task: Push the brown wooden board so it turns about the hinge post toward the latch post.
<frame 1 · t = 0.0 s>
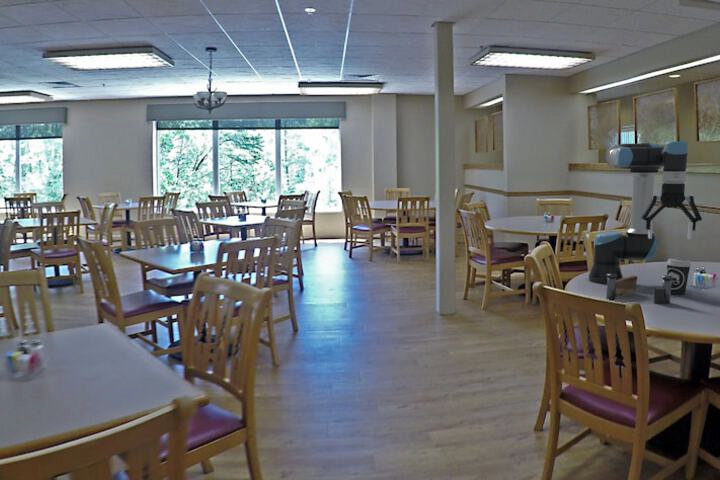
hand: (669, 238, 212), 28 cm above the table, fingers open, 13 cm apart
hinge post: (610, 299, 232), on the table
coffee cup: (676, 294, 240), on the table
brown wooden board: (624, 286, 237), point 4 cm above the table, hinge at 50.0°
latch post: (665, 302, 227), on the table
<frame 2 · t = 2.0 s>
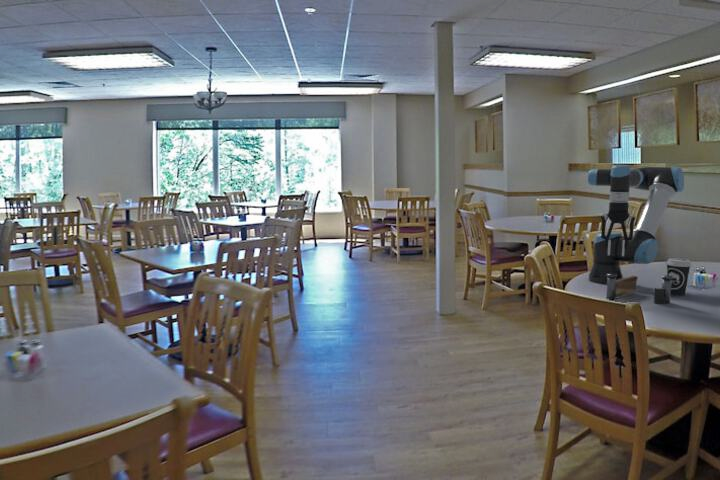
hand: (615, 255, 241), 17 cm above the table, fingers open, 5 cm apart
nothing on the table moved.
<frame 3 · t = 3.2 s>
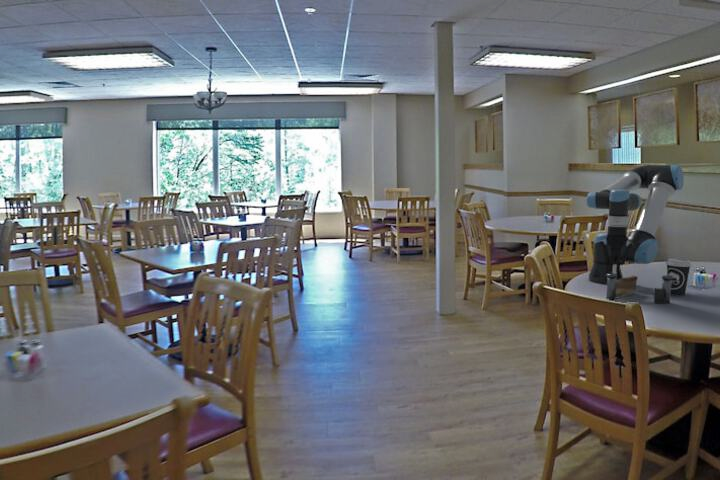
hand: (614, 279, 242), 6 cm above the table, fingers closed
nothing on the table moved.
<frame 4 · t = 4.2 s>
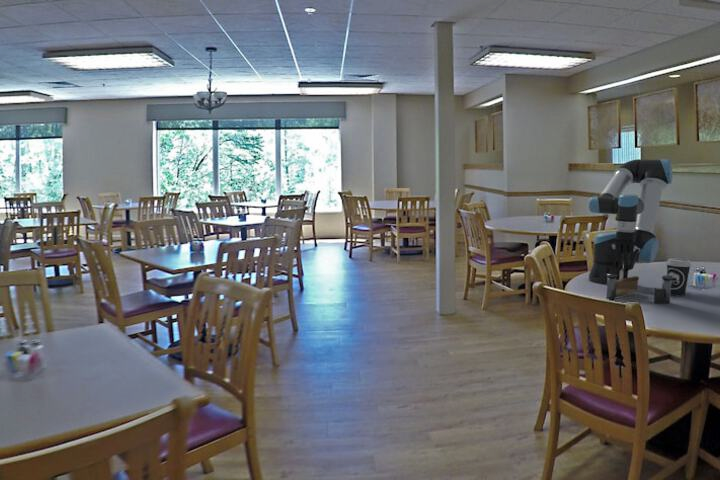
hand: (621, 284, 240), 4 cm above the table, fingers closed
brown wooden board: (625, 287, 237), point 4 cm above the table, hinge at 48.2°, touching gripper
everything else where it was.
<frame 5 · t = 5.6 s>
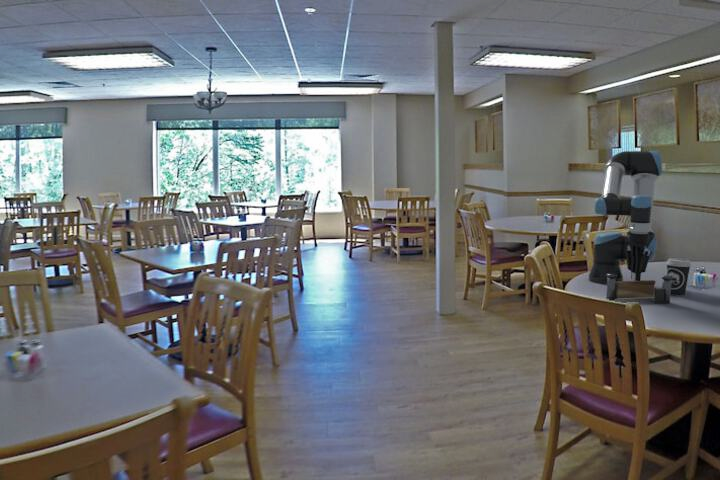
hand: (635, 287, 235), 4 cm above the table, fingers closed
brown wooden board: (634, 289, 232), point 4 cm above the table, hinge at 20.5°, touching gripper
everything else where it was.
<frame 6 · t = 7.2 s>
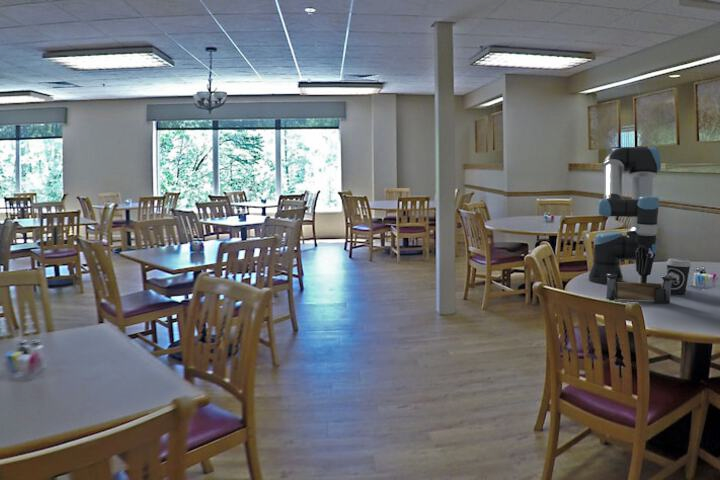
hand: (641, 290, 231), 4 cm above the table, fingers closed
brown wooden board: (637, 291, 229), point 4 cm above the table, hinge at 1.0°, touching gripper
everything else where it was.
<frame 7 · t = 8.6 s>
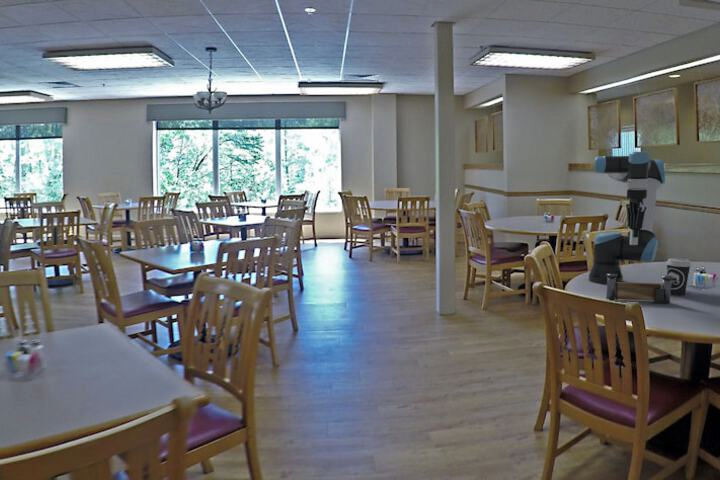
hand: (633, 244, 236), 22 cm above the table, fingers closed
brown wooden board: (637, 291, 229), point 4 cm above the table, hinge at 1.0°
everything else where it was.
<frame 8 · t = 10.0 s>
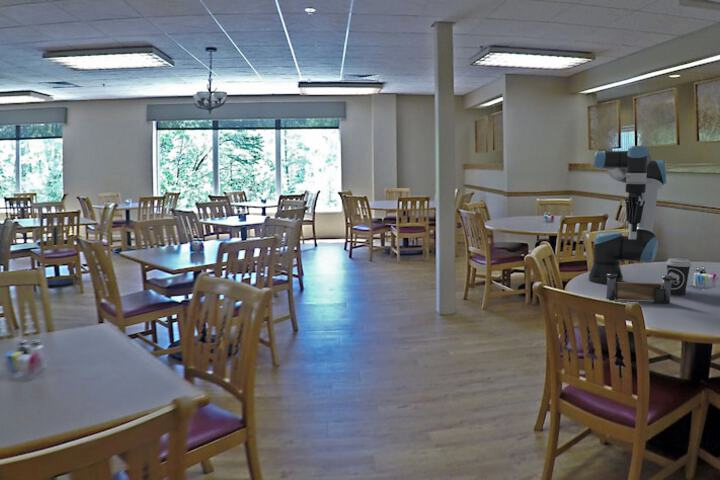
hand: (632, 238, 235), 24 cm above the table, fingers closed
nothing on the table moved.
at the end: brown wooden board at +1° (first picture: +50°); brown wooden board touching nothing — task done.
